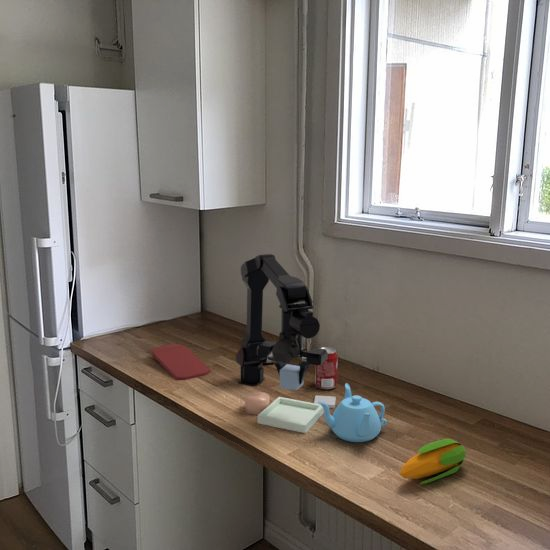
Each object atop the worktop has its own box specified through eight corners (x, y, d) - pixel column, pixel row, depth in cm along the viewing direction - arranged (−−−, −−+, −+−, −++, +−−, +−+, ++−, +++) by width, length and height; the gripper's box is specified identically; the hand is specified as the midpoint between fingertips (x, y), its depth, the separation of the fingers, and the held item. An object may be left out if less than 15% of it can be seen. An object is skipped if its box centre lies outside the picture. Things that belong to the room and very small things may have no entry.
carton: (211, 384, 206) (178, 352, 225) (212, 371, 204) (179, 340, 224) (178, 392, 200) (147, 359, 219) (178, 378, 198) (147, 346, 217)
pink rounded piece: (240, 412, 176) (240, 399, 175) (251, 402, 182) (251, 390, 181) (263, 416, 173) (263, 403, 172) (273, 407, 179) (273, 394, 179)
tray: (257, 423, 169) (257, 415, 169) (278, 403, 181) (278, 396, 181) (305, 433, 163) (305, 425, 163) (324, 412, 176) (324, 405, 175)
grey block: (313, 408, 180) (313, 403, 179) (315, 400, 185) (315, 395, 185) (334, 410, 179) (334, 405, 178) (335, 401, 184) (335, 396, 184)
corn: (475, 438, 144) (414, 463, 133) (474, 469, 145) (414, 497, 134) (449, 428, 150) (389, 451, 139) (449, 458, 151) (390, 483, 140)
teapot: (393, 431, 165) (395, 394, 163) (366, 453, 153) (368, 414, 151) (345, 416, 173) (346, 382, 171) (316, 437, 161) (316, 399, 159)
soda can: (335, 391, 190) (336, 354, 188) (313, 389, 192) (314, 352, 189) (338, 383, 197) (339, 347, 194) (316, 381, 198) (317, 345, 196)
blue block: (279, 387, 169) (279, 370, 168) (286, 381, 174) (287, 364, 173) (296, 390, 167) (296, 372, 166) (303, 384, 172) (303, 366, 171)
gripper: (247, 331, 164) (247, 387, 167) (313, 340, 156) (312, 399, 159) (265, 320, 173) (265, 373, 177) (328, 328, 166) (327, 384, 169)
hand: (291, 382), depth 170 cm, fingers closed on blue block, 5 cm apart
